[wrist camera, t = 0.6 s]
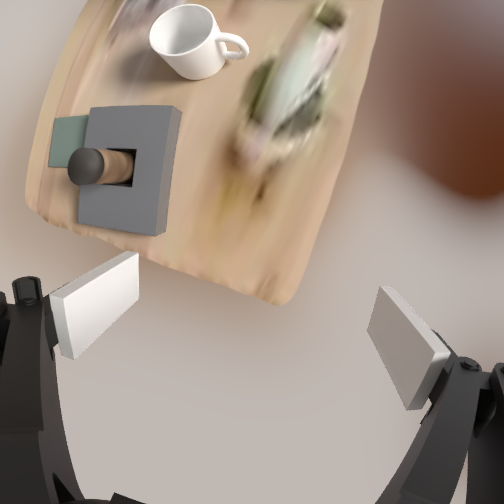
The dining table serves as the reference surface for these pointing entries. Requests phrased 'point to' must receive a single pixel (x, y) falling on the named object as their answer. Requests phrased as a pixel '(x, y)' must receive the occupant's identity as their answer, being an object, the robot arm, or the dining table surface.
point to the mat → (67, 139)
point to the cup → (193, 41)
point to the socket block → (145, 172)
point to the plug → (100, 166)
